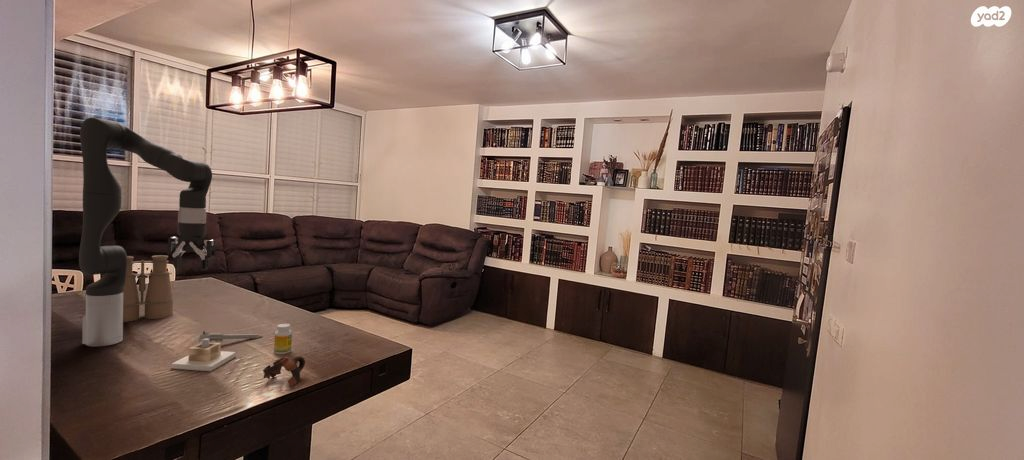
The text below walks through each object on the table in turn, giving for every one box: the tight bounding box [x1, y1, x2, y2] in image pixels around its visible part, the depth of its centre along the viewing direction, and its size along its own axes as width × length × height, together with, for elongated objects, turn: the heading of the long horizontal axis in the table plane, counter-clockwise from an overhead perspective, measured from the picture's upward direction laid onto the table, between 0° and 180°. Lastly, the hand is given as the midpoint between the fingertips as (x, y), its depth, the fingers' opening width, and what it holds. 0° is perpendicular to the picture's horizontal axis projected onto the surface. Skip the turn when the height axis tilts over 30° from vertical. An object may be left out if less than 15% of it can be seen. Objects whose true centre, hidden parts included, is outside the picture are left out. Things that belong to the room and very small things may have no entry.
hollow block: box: [188, 341, 222, 362], centre depth 135 cm, size 6×6×4 cm
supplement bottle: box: [273, 323, 293, 355], centre depth 149 cm, size 5×5×10 cm
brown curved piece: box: [262, 356, 306, 387], centre depth 128 cm, size 12×10×8 cm
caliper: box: [198, 330, 264, 344], centre depth 153 cm, size 20×1×6 cm, turn 143°
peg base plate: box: [170, 338, 237, 372], centre depth 135 cm, size 12×12×8 cm
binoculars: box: [123, 254, 175, 323], centre depth 171 cm, size 21×10×25 cm, turn 134°
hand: (191, 269), depth 141 cm, fingers open, 8 cm apart
